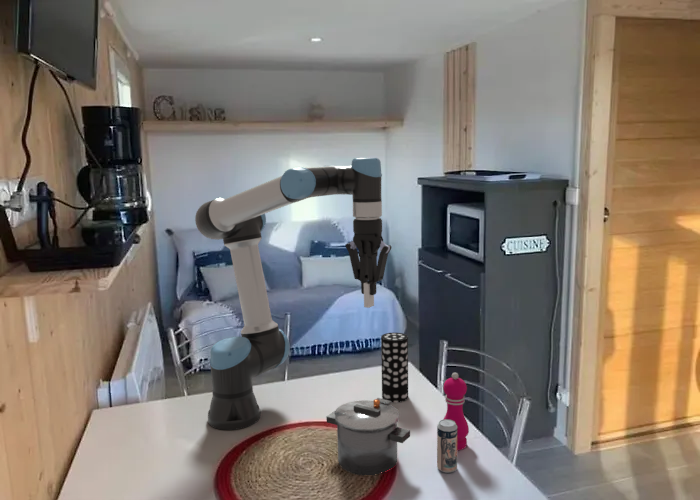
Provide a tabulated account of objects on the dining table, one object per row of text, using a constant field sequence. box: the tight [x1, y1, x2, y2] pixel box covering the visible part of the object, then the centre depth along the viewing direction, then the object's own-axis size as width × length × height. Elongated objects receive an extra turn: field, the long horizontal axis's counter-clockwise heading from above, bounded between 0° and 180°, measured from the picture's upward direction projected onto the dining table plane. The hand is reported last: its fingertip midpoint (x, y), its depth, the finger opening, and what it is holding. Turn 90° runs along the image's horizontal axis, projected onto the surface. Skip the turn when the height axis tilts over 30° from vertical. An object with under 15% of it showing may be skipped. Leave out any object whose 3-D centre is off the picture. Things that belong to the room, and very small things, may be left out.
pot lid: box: [334, 397, 400, 431], centre depth 144 cm, size 16×17×3 cm
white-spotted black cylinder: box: [380, 332, 409, 404], centre depth 181 cm, size 8×8×20 cm
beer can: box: [436, 418, 458, 474], centre depth 140 cm, size 5×5×12 cm
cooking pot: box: [325, 410, 411, 476], centre depth 145 cm, size 22×15×11 cm
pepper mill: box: [442, 372, 470, 451], centre depth 151 cm, size 7×7×20 cm
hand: (369, 306), depth 153 cm, fingers closed
